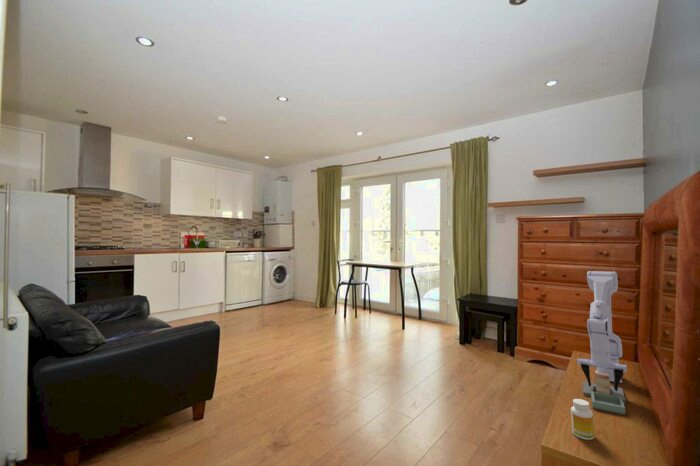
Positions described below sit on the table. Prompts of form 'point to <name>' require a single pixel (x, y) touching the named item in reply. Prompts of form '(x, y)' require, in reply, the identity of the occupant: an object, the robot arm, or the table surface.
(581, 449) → the table surface
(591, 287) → the robot arm
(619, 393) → the holder board
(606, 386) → the block
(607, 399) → the tray
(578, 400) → the supplement bottle
